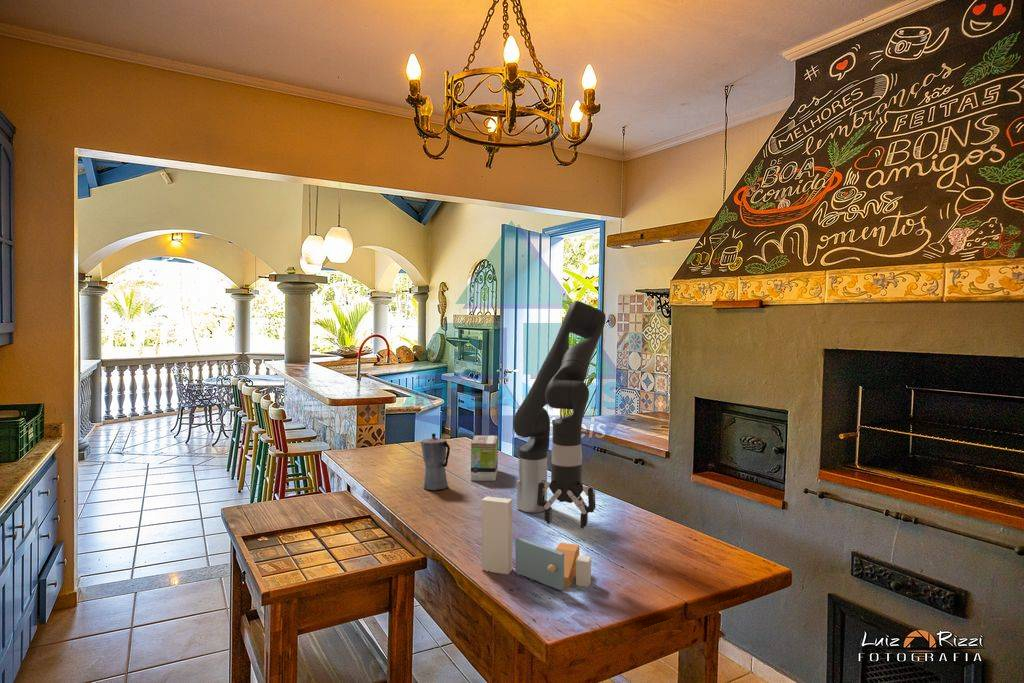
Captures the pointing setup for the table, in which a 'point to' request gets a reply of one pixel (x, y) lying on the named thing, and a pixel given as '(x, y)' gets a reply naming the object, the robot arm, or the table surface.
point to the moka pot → (435, 462)
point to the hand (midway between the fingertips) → (565, 525)
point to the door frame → (500, 540)
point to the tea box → (484, 458)
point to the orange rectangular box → (569, 561)
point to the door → (540, 563)
